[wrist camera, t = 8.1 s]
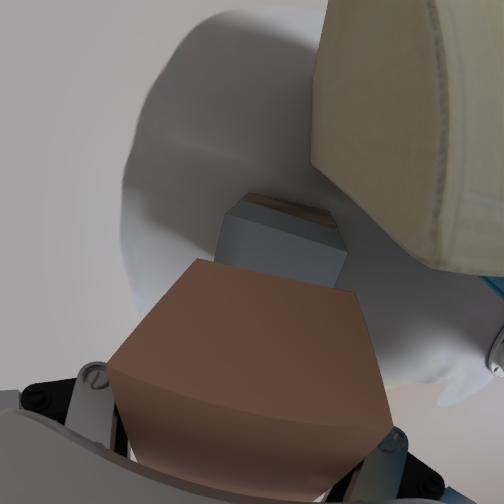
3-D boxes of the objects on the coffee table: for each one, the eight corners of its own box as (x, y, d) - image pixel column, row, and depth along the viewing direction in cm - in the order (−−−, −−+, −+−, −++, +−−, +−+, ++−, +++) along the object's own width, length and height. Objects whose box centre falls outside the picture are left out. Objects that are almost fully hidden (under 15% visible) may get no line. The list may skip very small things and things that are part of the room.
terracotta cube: (355, 292, 10) (393, 427, 4) (310, 396, 12) (304, 506, 6) (197, 258, 10) (105, 365, 5) (189, 369, 12) (140, 469, 7)
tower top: (337, 230, 19) (348, 252, 15) (304, 312, 21) (304, 348, 17) (241, 199, 19) (225, 213, 15) (219, 285, 22) (201, 316, 18)
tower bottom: (329, 211, 23) (336, 225, 19) (308, 284, 25) (309, 309, 21) (249, 192, 23) (238, 201, 19) (234, 266, 26) (222, 288, 22)
